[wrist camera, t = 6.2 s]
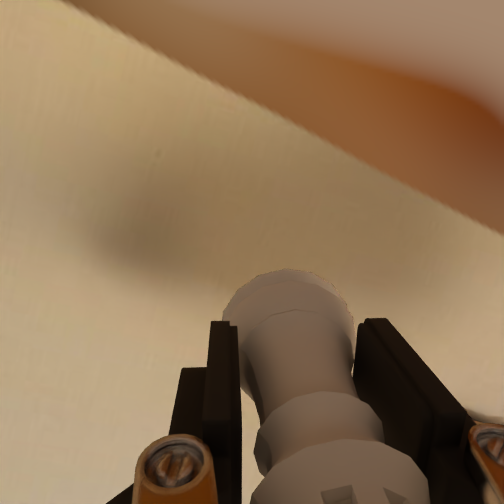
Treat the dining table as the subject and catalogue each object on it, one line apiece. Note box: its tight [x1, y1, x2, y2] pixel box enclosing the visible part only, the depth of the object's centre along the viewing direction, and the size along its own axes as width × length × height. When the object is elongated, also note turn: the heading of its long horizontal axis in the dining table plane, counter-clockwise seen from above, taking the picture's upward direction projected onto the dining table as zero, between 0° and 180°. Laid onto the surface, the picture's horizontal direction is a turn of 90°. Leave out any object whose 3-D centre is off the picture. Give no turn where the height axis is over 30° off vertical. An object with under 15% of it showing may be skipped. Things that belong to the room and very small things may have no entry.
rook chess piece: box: [222, 269, 430, 504], centre depth 10 cm, size 4×4×8 cm
